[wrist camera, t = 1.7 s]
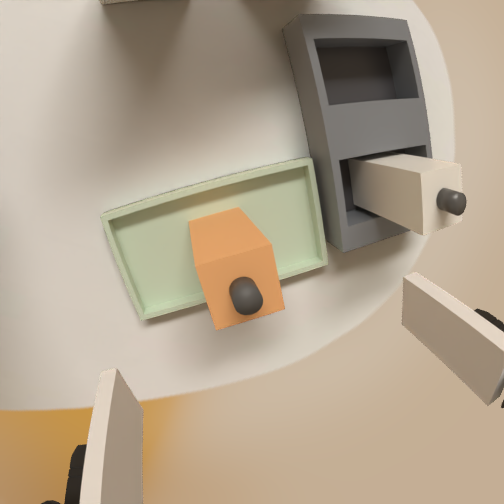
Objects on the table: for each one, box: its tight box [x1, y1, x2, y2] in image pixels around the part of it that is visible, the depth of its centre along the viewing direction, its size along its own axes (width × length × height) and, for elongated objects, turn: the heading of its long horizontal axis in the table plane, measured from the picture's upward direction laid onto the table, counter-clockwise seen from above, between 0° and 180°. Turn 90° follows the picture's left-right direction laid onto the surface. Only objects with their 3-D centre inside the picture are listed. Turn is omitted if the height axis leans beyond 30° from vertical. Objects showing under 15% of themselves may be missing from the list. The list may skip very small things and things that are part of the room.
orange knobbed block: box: [189, 207, 285, 330], centre depth 22 cm, size 4×4×12 cm
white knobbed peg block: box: [348, 151, 466, 236], centre depth 23 cm, size 4×4×12 cm
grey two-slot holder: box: [282, 14, 432, 253], centre depth 25 cm, size 11×20×4 cm, turn 13°
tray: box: [100, 157, 328, 321], centre depth 27 cm, size 18×10×2 cm, turn 103°
